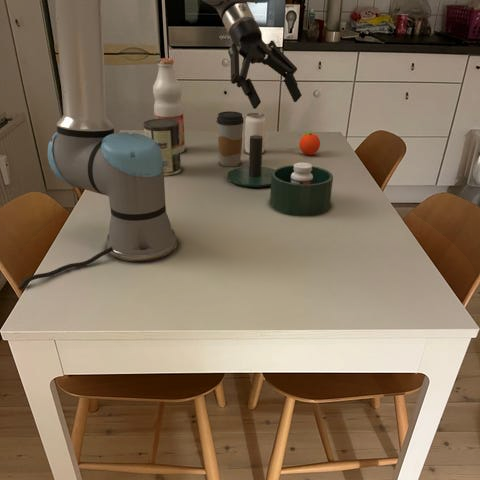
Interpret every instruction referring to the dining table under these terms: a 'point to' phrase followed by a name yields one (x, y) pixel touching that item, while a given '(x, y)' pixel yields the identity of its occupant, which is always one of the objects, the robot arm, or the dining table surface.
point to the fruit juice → (168, 97)
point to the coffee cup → (230, 137)
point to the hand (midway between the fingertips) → (278, 102)
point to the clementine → (309, 143)
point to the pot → (300, 192)
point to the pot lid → (252, 168)
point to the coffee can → (166, 142)
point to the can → (254, 129)
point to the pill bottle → (302, 174)
